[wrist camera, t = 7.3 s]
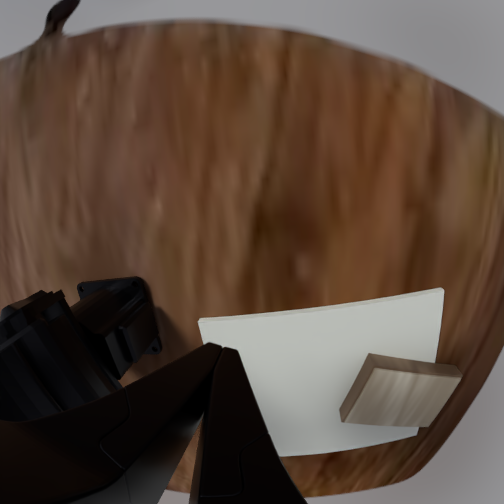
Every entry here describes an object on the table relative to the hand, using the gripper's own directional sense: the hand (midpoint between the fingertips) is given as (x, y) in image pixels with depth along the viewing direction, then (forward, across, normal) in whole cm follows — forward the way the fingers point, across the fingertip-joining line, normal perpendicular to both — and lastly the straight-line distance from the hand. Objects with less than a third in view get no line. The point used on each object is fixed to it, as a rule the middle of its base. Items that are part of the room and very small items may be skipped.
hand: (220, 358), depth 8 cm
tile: (+11, -10, +8) cm, 17 cm away
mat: (+12, -8, +10) cm, 18 cm away
